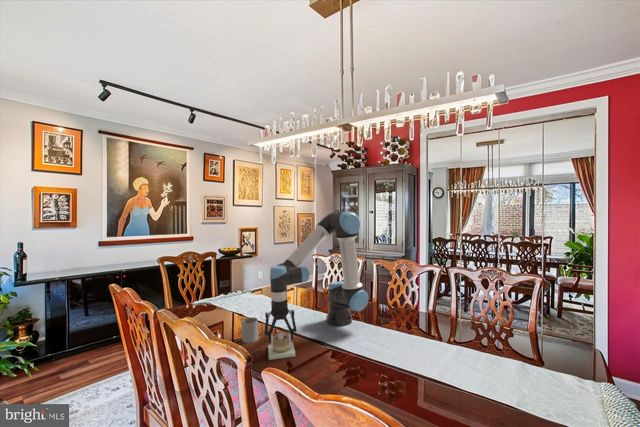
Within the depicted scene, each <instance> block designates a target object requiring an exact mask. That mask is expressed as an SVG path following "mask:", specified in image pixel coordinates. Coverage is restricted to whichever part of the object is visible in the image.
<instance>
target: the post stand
mask: <svg viewBox="0 0 640 427" xmlns="http://www.w3.org/2000/svg"><path fill="white" fill-rule="evenodd" d="M284 334H285V333H283V332H279V333H277V335H278V340H284ZM267 348H268V360H269V361H270V360H278V359H286V358H293V357H296V350H295V345H294V342H293V341H291V348H290V349H288V350H287V351H284V352H276V351H273V350H272V347H271V344H268V345H267Z"/></svg>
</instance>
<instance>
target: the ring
mask: <svg viewBox="0 0 640 427" xmlns="http://www.w3.org/2000/svg"><path fill="white" fill-rule="evenodd" d="M283 334H284V340H278V334H276V335H273V351H276V352H284V351H287V350H288V349H290V345H289V334H285V333H283Z"/></svg>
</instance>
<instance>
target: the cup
mask: <svg viewBox="0 0 640 427" xmlns="http://www.w3.org/2000/svg"><path fill="white" fill-rule="evenodd" d="M240 323H241V326H240V327H241V342H242V343H244V344H245V343H247V344H249V343H250V344H251V343H254V342H255V343H256V342H257V341H258V340H259V324H258V323H259V322H258V318H257V317H254V316H253V317H246V318H243V319H242V320H241V322H240Z"/></svg>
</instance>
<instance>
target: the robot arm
mask: <svg viewBox="0 0 640 427" xmlns="http://www.w3.org/2000/svg"><path fill="white" fill-rule="evenodd" d="M360 229H361V220H360V218H359V216H358V215H357V214H356V213H354V212H351V211H333V212H331V213H328V214H327V215H325V216H324V217H323V218H322V219H321V220H320V221H319V222H318V223H317V224H316V225H315V229H314V230H313V231H312V232H311V233H310V234H309V235H308V236H307V237H306V238H305V239H304V240H303V241H302V243H301V244H300V245H299V246H298V247H296V249H295V250H294V251H293V252H292V253H291V254H290V255H289V256H288V257H287V258H286V259H285V260H284V261H283V262H282V263H280V262H279V263H278V264H276V265H275V266H272V267H270V272H269V280H270V281H269V282H270V299H271V305H270V306H271V310H270V311H268V312H266V311H265V313H264V314H265V325H264V336H267V337H268V343H271V344H270V345H271V347H272V350H273V337H274V335H273V331H274V328H275V326H276V323H277V321H280V320H284V323H285V324H286V327H287V329H288V335H289V345H290V348H291V342H292V341H293V340H294V333H295V332H297V331H298V330H297V326H296V320H295V319H296V318H295V310H294V309H289V306H288V286H292V285H297V284H304V283H306V282H308V281H309V279H310V271H309V269H308V268H307V267H306V266H301V265H302V264H303V262H305V261H306V259H307V258H309V256H310V255H311V254H312V253H313V252H314V251H315V250H316V249H317V248H318V246H319V245H320V244H321V243H322V242H323V241H324V240H325V239H326V238H327V239H328V238H329V237H330V236H331V235H332V234H335V238H336V239H337V240H338V243H339V249H340V260H341V269H342V279H343V280H340V281H333V282H331V283H329V284H328V287H327V291H328V292H327V293H328V312H327V314H326V323H327V324H328V325H331V326H337V327H343V326H347V325H350V324H351V323H352V322H353V315H352V312H351V311H355V312H361V311H363V310H364V309H365V308H366V307H367V305H368V302H369V294H368V292H367V291H366V290H364V285H363V283H362V282H361V281H360V275H359V264H358V256H357V246H356V238H357V237H358V232H359V230H360ZM288 314H289V316H290V318H291V323H292V325H291V324H290V322H289V320H288V317H287V316H288ZM271 316H272V317H273V318H272V321H271V324H270V327H269V321H270V317H271ZM292 327H293V328H292ZM268 329H269V330H268Z"/></svg>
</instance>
